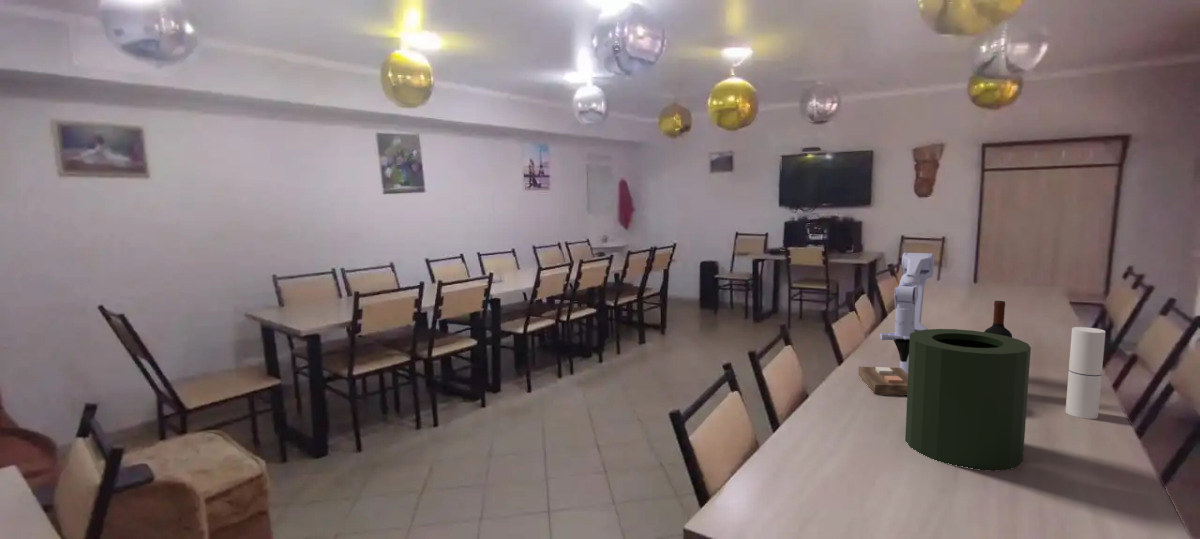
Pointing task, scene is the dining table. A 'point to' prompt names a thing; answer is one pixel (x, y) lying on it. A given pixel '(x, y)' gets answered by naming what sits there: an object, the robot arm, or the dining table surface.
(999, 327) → the wine bottle
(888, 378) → the salmon orange square block
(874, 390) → the key panel
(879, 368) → the off white key
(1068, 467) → the dining table surface
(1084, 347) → the cylindrical container
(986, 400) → the flower pot
